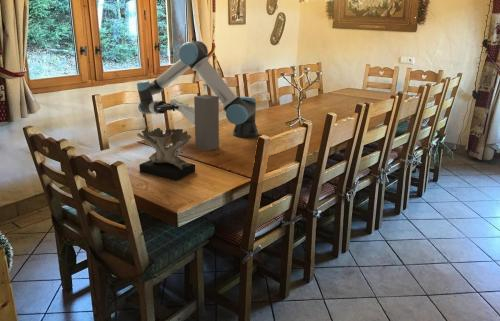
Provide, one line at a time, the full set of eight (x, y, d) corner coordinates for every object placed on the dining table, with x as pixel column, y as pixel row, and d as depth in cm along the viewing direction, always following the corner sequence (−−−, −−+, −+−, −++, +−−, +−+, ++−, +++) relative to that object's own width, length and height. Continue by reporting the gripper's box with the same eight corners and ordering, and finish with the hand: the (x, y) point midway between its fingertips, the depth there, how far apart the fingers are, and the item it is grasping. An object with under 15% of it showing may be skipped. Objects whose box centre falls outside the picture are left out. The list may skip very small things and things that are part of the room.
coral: (201, 173, 187) (200, 128, 180) (171, 188, 171) (169, 138, 164) (160, 163, 200) (158, 120, 193) (128, 175, 183) (125, 129, 176)
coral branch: (173, 166, 206) (165, 155, 198) (165, 156, 211) (157, 145, 202) (187, 156, 208) (181, 144, 200) (179, 146, 212) (172, 134, 204)
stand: (195, 147, 224) (194, 96, 214) (207, 144, 230) (206, 94, 221) (207, 151, 218) (206, 99, 209) (218, 147, 225) (218, 96, 216)
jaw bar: (168, 104, 233) (169, 96, 230) (174, 103, 236) (176, 95, 234) (194, 124, 223) (196, 116, 221) (200, 122, 227) (202, 114, 224)
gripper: (169, 111, 249) (196, 111, 235) (148, 115, 237) (175, 115, 223) (168, 99, 248) (195, 97, 233) (146, 102, 236) (173, 101, 221)
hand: (185, 106), depth 228 cm, fingers closed on jaw bar, 3 cm apart
